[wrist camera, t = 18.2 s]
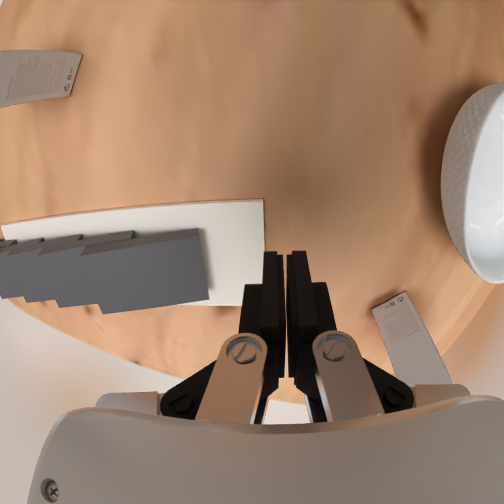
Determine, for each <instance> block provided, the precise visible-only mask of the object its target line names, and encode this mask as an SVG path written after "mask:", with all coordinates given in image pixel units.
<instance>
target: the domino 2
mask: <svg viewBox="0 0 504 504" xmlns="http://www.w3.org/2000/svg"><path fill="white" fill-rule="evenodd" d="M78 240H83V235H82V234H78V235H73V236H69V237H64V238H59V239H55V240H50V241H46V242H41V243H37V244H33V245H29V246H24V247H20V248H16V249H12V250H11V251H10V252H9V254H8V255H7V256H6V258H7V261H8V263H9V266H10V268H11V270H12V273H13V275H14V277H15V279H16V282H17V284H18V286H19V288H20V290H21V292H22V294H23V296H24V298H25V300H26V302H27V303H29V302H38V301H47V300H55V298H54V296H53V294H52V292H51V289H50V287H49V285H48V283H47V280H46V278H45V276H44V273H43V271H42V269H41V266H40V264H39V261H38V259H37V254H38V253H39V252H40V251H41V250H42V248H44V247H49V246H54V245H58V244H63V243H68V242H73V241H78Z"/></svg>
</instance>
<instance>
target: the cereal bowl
mask: <svg viewBox="0 0 504 504" xmlns="http://www.w3.org/2000/svg"><path fill="white" fill-rule="evenodd" d="M441 199H442V208H443V214H444V218H445V221H446V226H447V228H448V232H449V235H450V237H451V238H452V241H453V243H454V245H455V247H456V249H457V251H458V252H459V254H460V256H461V257H462V258H463V259H464V261H465V262H466V263H467V264H468V265H469V267H470V268H471V269H472V270H473V271H474V273H475V274H477V275H478V276H479V277H480V278H482V279H483V280H485V281H487V282H490V283H495V284H498V283H504V82H503V83H496V84H491V85H489V86H485V87H484V88H482V89H480V90H478V91H477V92H476V93H474V94H473V95H472V96H471V97H470V98H469V99H467V101H466V103H464V104H463V106H462V107H461V109H460V110H459V112H458V114H457V116H456V118H455V119H454V123H453V124H452V127H451V129H450V132H449V134H448V138H447V142H446V144H445V150H444V154H443V161H442V173H441Z"/></svg>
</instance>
